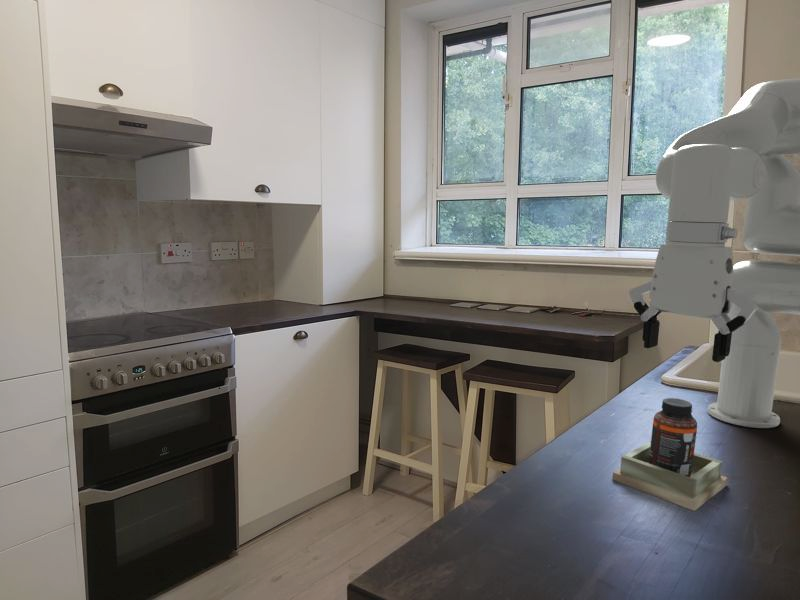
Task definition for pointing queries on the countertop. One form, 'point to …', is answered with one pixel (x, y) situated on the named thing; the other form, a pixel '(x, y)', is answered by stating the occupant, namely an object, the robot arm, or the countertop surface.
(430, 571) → the countertop surface
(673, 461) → the supplement bottle
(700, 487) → the socket board
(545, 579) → the countertop surface
